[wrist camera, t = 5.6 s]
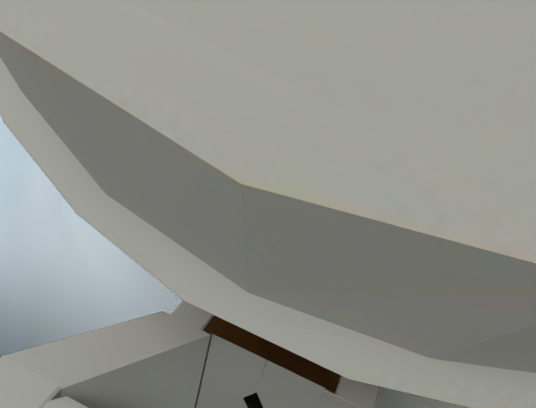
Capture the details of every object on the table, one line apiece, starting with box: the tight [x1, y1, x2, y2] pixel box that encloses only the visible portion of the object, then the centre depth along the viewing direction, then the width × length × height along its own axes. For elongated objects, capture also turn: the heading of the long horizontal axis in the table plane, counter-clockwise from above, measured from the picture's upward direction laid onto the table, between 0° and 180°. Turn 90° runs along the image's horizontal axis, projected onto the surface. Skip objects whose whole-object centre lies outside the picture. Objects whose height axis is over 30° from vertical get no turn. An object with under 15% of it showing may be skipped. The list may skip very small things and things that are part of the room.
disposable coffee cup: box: [0, 0, 536, 408], centre depth 8 cm, size 10×10×12 cm
